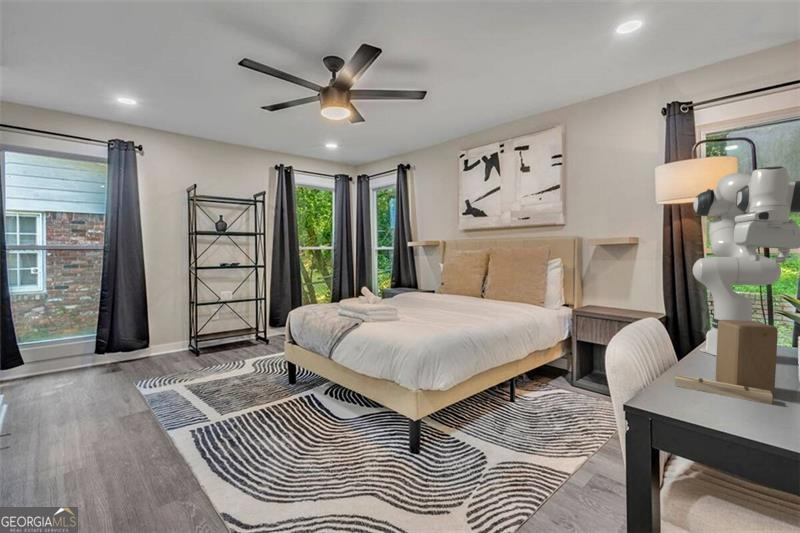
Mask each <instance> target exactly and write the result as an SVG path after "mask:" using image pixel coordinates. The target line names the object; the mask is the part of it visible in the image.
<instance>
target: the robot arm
mask: <svg viewBox="0 0 800 533" xmlns="http://www.w3.org/2000/svg"><path fill="white" fill-rule="evenodd" d="M692 205H693V206H692V207H693V210H694V212H695V214H696V215H697V216H700V217H715V218H713V219H712V220H711V221H710V223H709V228H708V238H709V243H710V247H711V252H712V254H713V255H714V256H710V257H702V258H698V259H697V260H696V262H694V264H693V266H692V275H693V276H694V278H695V280H696V281H697V282H699V283H701V284H702V285H703V286H704V287H706V288H707V289H708V291H709V292H710V294H711V295H712V299H713V318H712V319H711V323H712V324H711V326H712V328H711V329H709V330H708V331H706V332H707V333H706V334H705V345H704V346H702V347H700V349H699V351H700V352H702V353H707V354H710V355H712V356H715V357H717V334H718V321H719V320H747V321H753V319H752V318H753V303H752V301H751V299H749V298H748V296H745V295H743V294H741V293H738V292H736V291H734V289H733V288H734V287H733V286H755V287H756V286H757V287H758V286H767V285H773V284H775V283H776V282H778V281H779V279H780V277H781V275H782V268H781V265H780V264H784V263H786V262H787V257H788V255H789V254H790V252H791V250H796V249H797V250H798V249H800V227H799V224H798V223H797V222H795V220H794V219H790V213H800V180H796V181H790V178H789V173H788V169H787V167H784V166H779V165H778V166H767V167H760V168H757V169H754V170H753V171H752V173H751V175H750V174H747V173H744V172H732V173H729V174H726V175H724V176H722V178H720V179H719V181H718V182H717V185H716V189H710V188H708V189H706V191H703V192H700V193H699V194H698V195H696V196H695V199H694V201H693V204H692ZM758 248H768V249H769V248H770V249H777V250H778V252H779V254H778V255H777V256H776V257H775V259H772V258H769V257H766V256H764V255H762V254H760V253H758V252H757V250H758Z"/></svg>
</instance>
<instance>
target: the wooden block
mask: <svg viewBox="0 0 800 533" xmlns="http://www.w3.org/2000/svg"><path fill="white" fill-rule="evenodd" d="M778 332H779V330H778V327H776V326H775V325H770V324H767V323H766V324H765V323H763V322H758V321H757V320H756V321H755V320H752V321H747V320H719V321H718V334H717V356H715V357H716V359H715V381H716V382H722V383H727V384H733V385H739V386H747V387H750V388H756V389H761V390H767V391H771V393H772V395H774V394H775V389H776V373H777V371H776V368H777V350H778V349H777V348H778V334H779V333H778Z"/></svg>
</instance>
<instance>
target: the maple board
mask: <svg viewBox="0 0 800 533" xmlns="http://www.w3.org/2000/svg"><path fill="white" fill-rule="evenodd" d="M674 386H675V387H678V386H679V388H683V387H685V388H684V389H690V390H695V391H700V392H705V393H709V394H717V395H719V396H727V397H730V398H737V399H741V400H746V401H752V402H757V403H760V404H761V403H762V404H767V405H773V395H774V394H772V393H771V391H767V390H761V389H756V388H750V387H747V386H739V385H733V384H727V383H722V382H717V381H716V380H715V381H714V380H710V379H704V378H700V377H699V378H698V377H692V376H687V375H682V374H675V378H674Z"/></svg>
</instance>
